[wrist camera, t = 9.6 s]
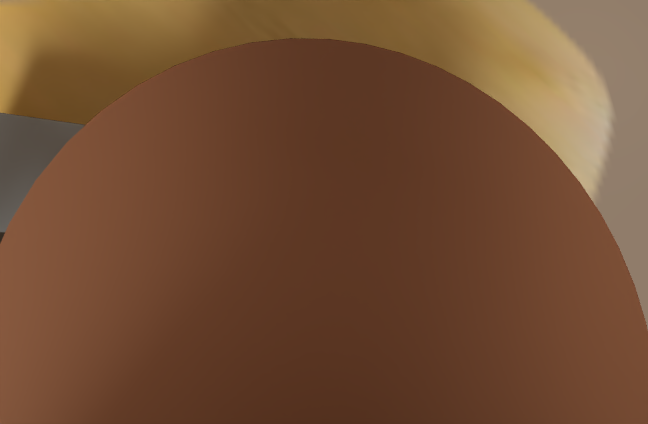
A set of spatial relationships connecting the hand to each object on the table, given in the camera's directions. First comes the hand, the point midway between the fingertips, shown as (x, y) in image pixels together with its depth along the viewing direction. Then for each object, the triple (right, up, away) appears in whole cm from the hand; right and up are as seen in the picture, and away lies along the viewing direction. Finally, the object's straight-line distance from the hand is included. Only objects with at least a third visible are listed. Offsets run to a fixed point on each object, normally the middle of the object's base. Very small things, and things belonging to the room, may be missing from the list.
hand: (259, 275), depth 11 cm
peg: (-1, -3, +4) cm, 5 cm away
